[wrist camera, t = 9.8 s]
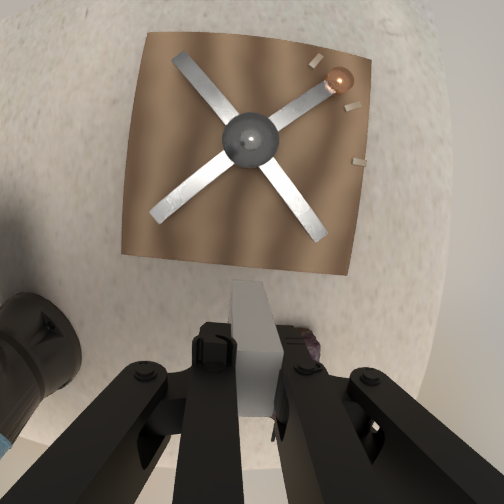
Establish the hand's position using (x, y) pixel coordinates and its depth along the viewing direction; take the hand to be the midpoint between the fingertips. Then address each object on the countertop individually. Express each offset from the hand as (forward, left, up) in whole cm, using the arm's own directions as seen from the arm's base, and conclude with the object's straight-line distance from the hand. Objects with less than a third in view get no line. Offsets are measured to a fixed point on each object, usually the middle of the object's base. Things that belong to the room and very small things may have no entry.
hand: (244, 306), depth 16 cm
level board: (0, +10, -21) cm, 23 cm away
